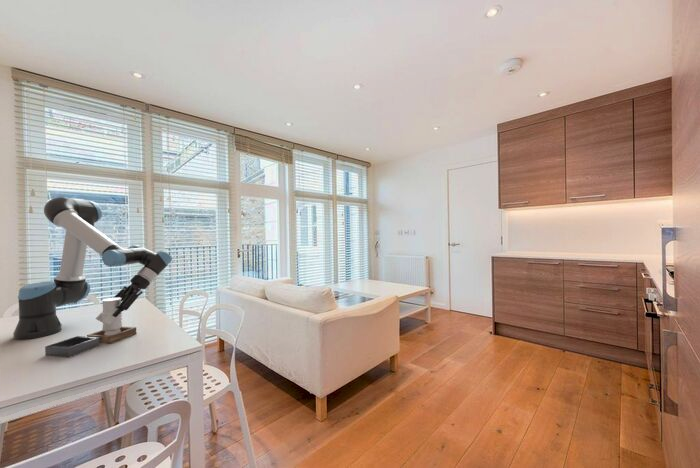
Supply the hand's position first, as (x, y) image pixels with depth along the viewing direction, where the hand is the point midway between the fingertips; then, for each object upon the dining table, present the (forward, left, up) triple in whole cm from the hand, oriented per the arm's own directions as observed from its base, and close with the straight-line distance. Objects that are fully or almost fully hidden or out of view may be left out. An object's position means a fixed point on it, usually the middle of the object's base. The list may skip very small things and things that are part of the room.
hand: (102, 321), depth 124 cm
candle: (+1, +3, -6) cm, 7 cm away
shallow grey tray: (-1, -11, -8) cm, 13 cm away
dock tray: (+1, +3, -8) cm, 9 cm away
